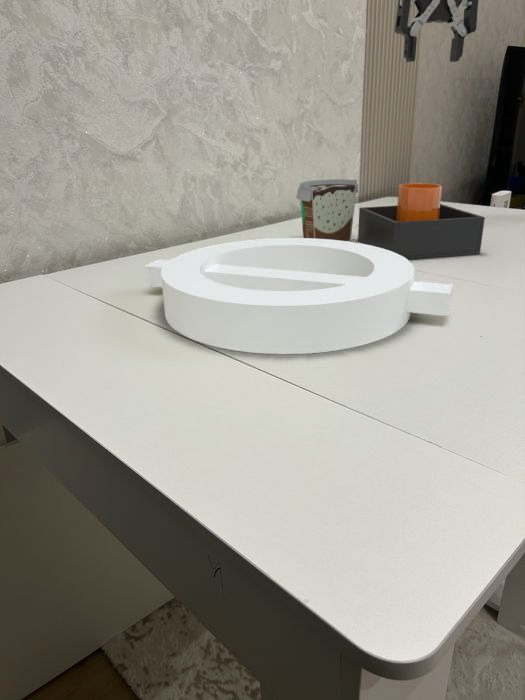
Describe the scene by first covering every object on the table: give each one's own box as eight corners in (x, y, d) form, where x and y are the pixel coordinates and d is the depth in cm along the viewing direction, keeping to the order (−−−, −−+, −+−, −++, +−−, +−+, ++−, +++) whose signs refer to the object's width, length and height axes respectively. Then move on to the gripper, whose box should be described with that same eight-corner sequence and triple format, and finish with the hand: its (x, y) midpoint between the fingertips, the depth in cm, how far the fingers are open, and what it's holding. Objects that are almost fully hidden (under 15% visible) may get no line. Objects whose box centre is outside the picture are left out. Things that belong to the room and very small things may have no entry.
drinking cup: (423, 238, 92) (429, 182, 88) (443, 246, 86) (449, 187, 82) (388, 240, 90) (392, 184, 87) (405, 249, 85) (410, 189, 81)
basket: (434, 235, 96) (437, 202, 94) (479, 254, 83) (485, 217, 81) (357, 240, 93) (359, 207, 91) (392, 261, 81) (395, 222, 78)
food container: (328, 235, 98) (329, 177, 94) (356, 240, 94) (358, 179, 90) (280, 247, 90) (280, 184, 86) (308, 253, 86) (309, 187, 82)
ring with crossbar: (141, 289, 71) (137, 252, 69) (331, 262, 80) (332, 230, 79) (210, 376, 47) (206, 325, 45) (466, 324, 57) (472, 280, 55)
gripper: (413, -56, 87) (404, 60, 93) (494, -53, 89) (480, 59, 96) (393, -44, 93) (386, 63, 100) (469, -41, 96) (457, 63, 102)
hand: (432, 61), depth 98 cm, fingers open, 8 cm apart
